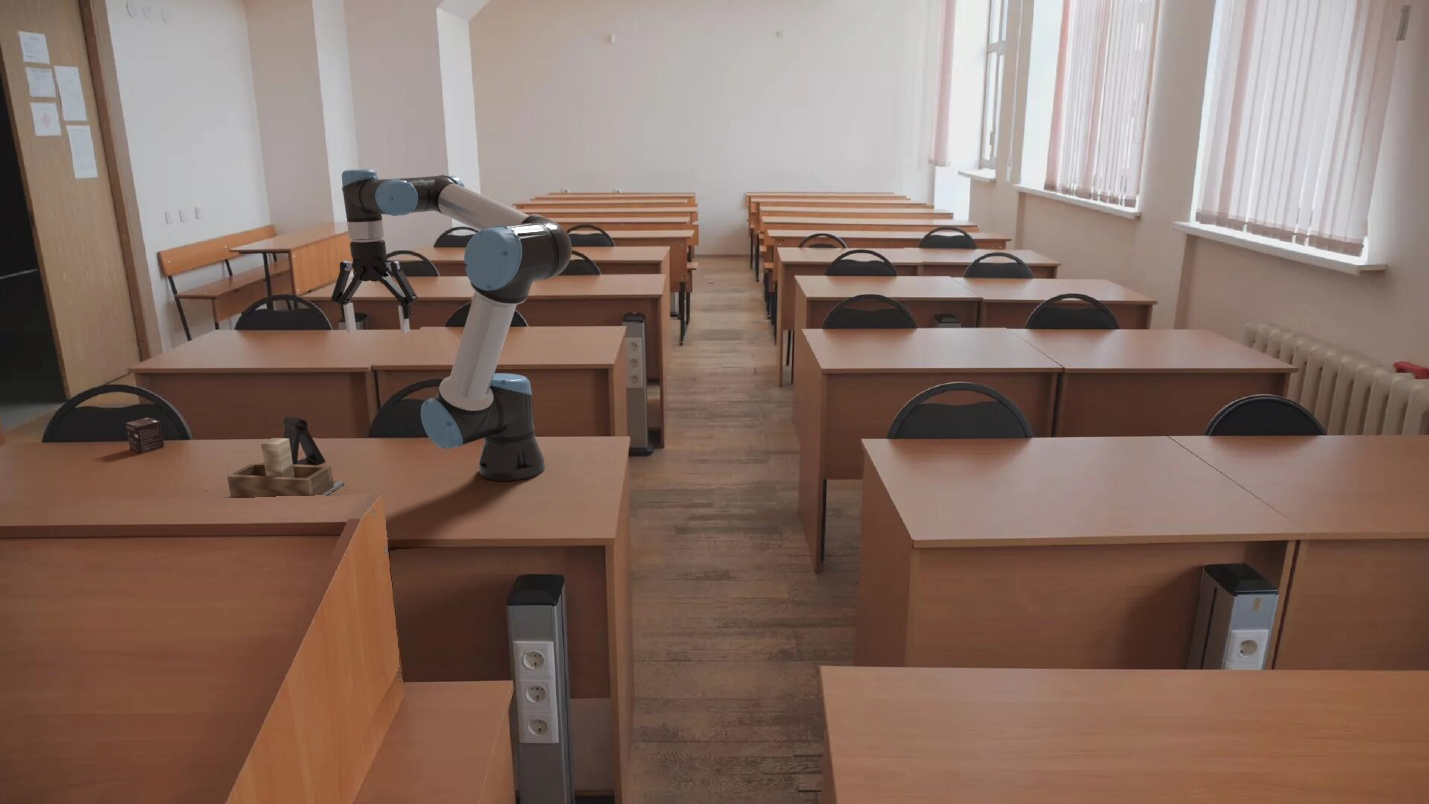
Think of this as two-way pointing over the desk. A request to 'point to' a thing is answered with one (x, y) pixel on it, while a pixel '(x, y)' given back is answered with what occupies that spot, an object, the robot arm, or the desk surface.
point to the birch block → (278, 458)
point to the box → (144, 435)
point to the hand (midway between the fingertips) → (378, 332)
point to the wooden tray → (282, 482)
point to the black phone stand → (301, 442)
